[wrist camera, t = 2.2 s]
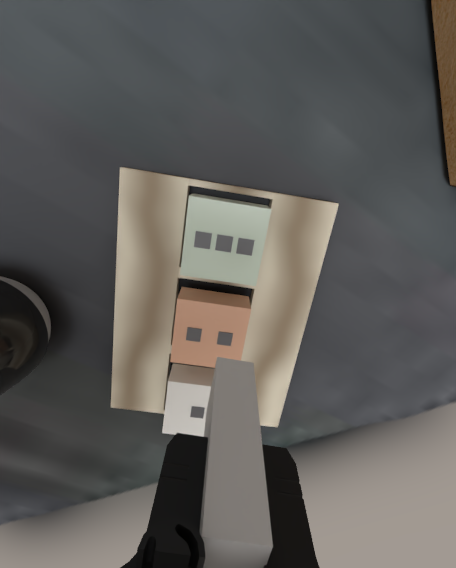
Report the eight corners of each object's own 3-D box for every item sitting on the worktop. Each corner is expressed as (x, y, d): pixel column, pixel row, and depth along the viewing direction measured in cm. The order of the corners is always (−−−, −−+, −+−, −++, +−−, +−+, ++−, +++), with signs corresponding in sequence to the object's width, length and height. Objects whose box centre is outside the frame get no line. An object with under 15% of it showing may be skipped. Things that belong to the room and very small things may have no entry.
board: (115, 397, 34) (110, 407, 33) (125, 167, 26) (119, 167, 25) (275, 417, 35) (277, 427, 34) (332, 202, 27) (338, 203, 26)
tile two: (174, 345, 29) (169, 362, 27) (181, 286, 27) (177, 298, 25) (237, 353, 30) (238, 371, 27) (248, 296, 28) (251, 309, 25)
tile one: (167, 412, 32) (161, 433, 29) (172, 363, 30) (167, 381, 27) (224, 419, 32) (224, 441, 30) (234, 371, 30) (235, 390, 28)
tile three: (184, 265, 27) (179, 275, 24) (192, 193, 24) (188, 195, 22) (253, 275, 27) (256, 286, 24) (266, 205, 25) (271, 209, 22)
